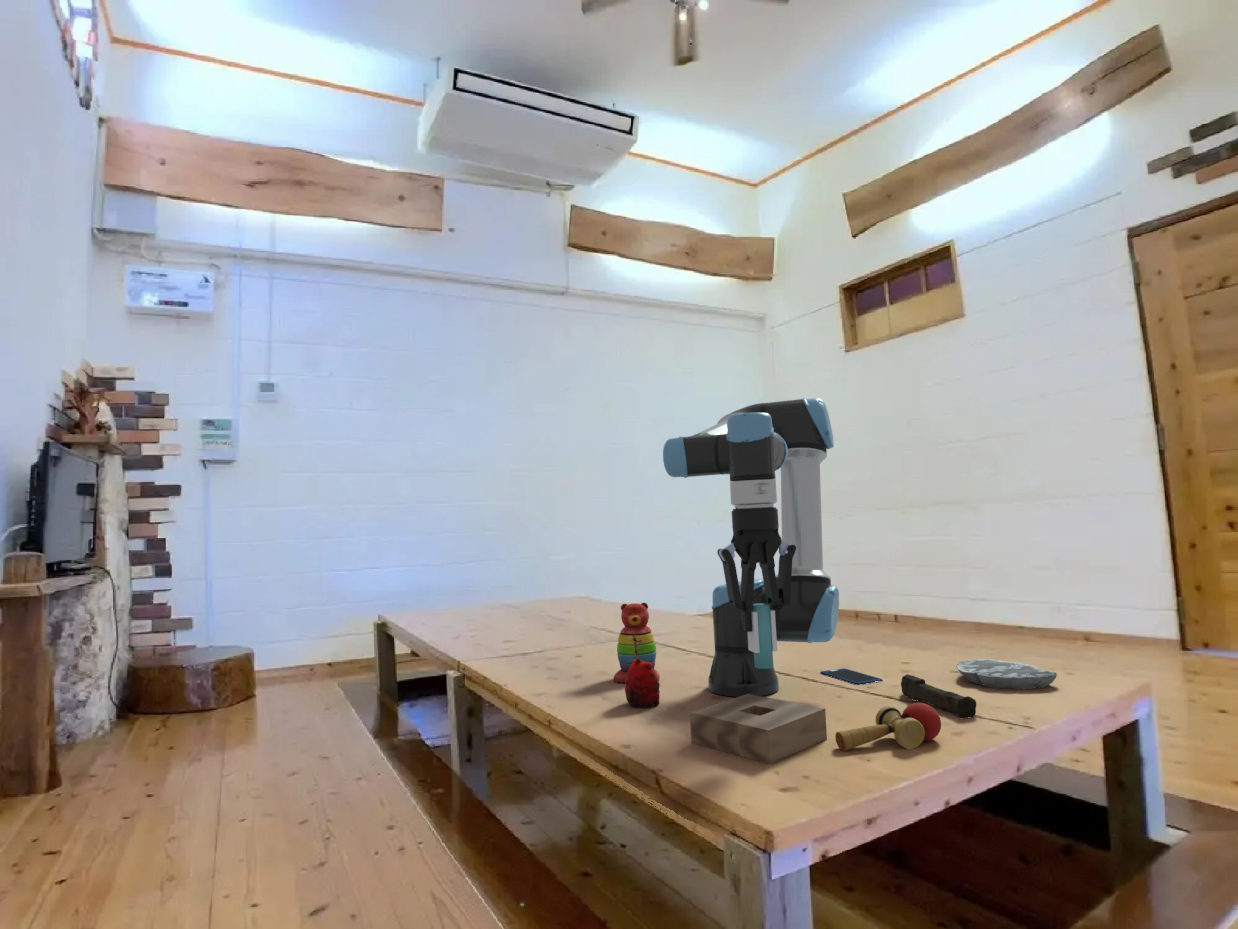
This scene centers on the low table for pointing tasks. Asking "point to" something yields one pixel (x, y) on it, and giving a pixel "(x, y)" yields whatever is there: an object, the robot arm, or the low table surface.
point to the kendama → (895, 727)
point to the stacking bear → (634, 623)
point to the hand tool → (938, 697)
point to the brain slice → (1005, 674)
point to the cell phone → (851, 676)
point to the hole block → (758, 727)
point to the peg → (763, 637)
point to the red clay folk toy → (641, 682)
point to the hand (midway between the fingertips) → (762, 650)
